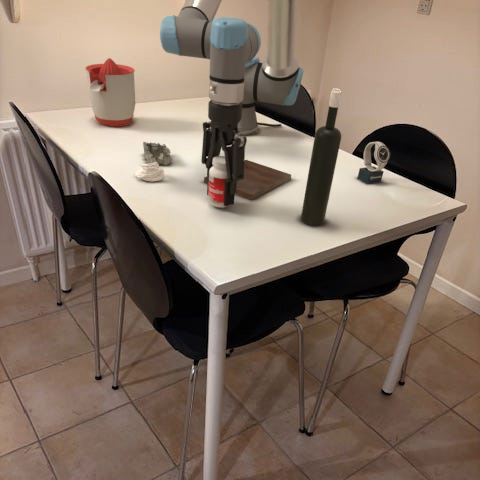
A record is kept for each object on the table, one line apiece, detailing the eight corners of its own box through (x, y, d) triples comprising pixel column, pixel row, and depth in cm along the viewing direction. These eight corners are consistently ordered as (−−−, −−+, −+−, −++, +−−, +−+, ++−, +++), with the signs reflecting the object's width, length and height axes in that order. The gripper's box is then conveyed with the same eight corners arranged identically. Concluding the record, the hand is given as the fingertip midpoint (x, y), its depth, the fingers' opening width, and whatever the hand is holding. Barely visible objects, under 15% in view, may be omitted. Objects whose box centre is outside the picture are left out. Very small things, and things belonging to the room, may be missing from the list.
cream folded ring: (138, 186, 128) (136, 169, 124) (132, 174, 132) (130, 158, 129) (167, 182, 130) (166, 165, 127) (160, 170, 134) (159, 154, 131)
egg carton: (171, 166, 139) (171, 152, 136) (145, 166, 137) (144, 152, 135) (167, 153, 147) (167, 139, 144) (143, 153, 145) (142, 139, 143)
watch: (371, 186, 138) (380, 148, 131) (353, 176, 144) (362, 139, 137) (385, 184, 141) (396, 146, 134) (367, 174, 146) (376, 137, 139)
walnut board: (245, 164, 144) (246, 159, 143) (290, 179, 138) (291, 174, 137) (203, 182, 131) (204, 177, 130) (251, 200, 124) (252, 194, 123)
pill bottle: (202, 202, 119) (204, 158, 112) (219, 195, 123) (221, 152, 116) (221, 210, 116) (223, 166, 110) (237, 203, 120) (240, 160, 113)
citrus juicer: (78, 124, 162) (70, 58, 149) (108, 113, 175) (103, 51, 162) (118, 133, 158) (112, 66, 145) (145, 121, 170) (143, 58, 158)
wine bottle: (311, 213, 121) (335, 84, 102) (328, 222, 118) (356, 90, 99) (295, 218, 118) (317, 86, 99) (313, 228, 114) (338, 93, 96)
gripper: (186, 92, 108) (186, 188, 123) (239, 115, 97) (232, 218, 112) (213, 89, 112) (209, 182, 127) (267, 110, 101) (256, 211, 116)
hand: (220, 199), depth 119 cm, fingers closed on pill bottle, 6 cm apart
